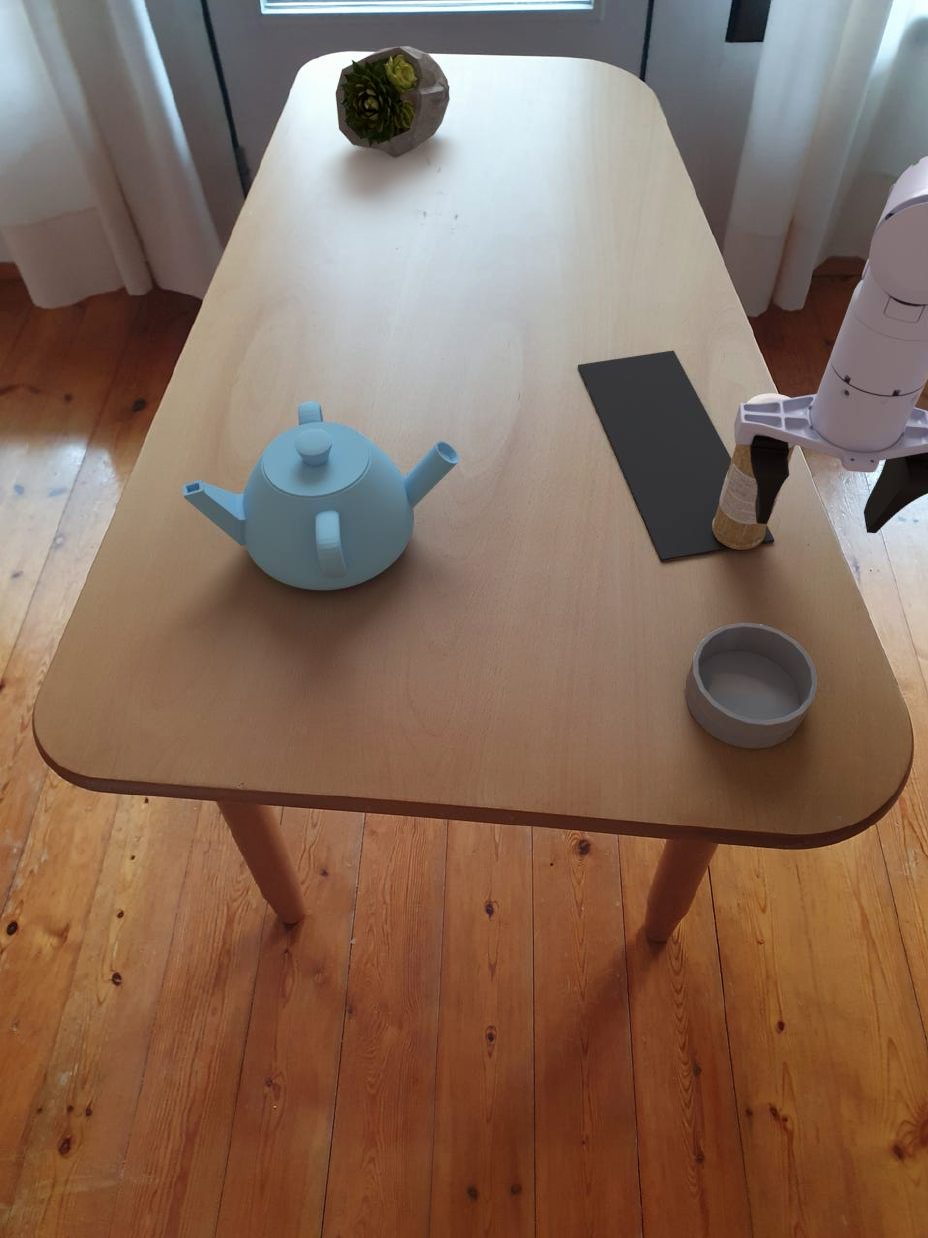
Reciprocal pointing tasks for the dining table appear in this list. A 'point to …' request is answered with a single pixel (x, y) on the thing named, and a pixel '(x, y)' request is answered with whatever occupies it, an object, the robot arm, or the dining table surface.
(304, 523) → the teapot
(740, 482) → the sprinkles bottle
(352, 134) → the potted plant
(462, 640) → the dining table surface
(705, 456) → the mat
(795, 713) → the basin
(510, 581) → the dining table surface
